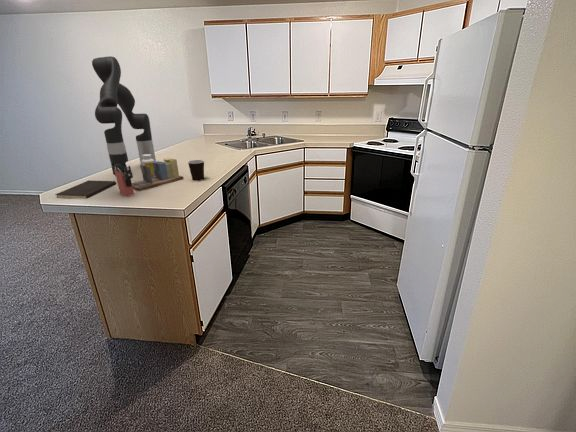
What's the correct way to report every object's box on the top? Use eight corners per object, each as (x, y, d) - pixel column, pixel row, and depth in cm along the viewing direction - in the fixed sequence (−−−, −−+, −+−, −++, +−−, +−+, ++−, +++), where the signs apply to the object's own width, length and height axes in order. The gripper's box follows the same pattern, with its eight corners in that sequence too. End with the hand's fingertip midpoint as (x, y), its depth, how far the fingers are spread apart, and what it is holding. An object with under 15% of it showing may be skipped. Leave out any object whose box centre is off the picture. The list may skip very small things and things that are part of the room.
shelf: (127, 186, 162) (123, 166, 158) (170, 175, 181) (167, 157, 177) (139, 191, 156) (135, 170, 151) (183, 179, 175) (180, 160, 170)
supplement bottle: (159, 176, 181) (155, 154, 176) (149, 178, 176) (145, 156, 171) (152, 174, 184) (148, 153, 179) (142, 177, 179) (137, 155, 174)
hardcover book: (56, 198, 148) (55, 194, 147) (89, 184, 169) (88, 180, 168) (87, 199, 146) (86, 195, 146) (116, 185, 167) (115, 181, 167)
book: (120, 194, 152) (114, 170, 147) (128, 191, 155) (122, 168, 150) (126, 196, 149) (120, 172, 144) (134, 194, 152) (129, 170, 147)
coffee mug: (201, 181, 170) (199, 163, 166) (187, 180, 172) (185, 163, 168) (210, 175, 181) (208, 159, 177) (197, 175, 182) (195, 158, 178)
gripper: (102, 151, 145) (110, 184, 151) (116, 155, 137) (124, 189, 143) (118, 149, 150) (125, 181, 157) (133, 152, 142) (140, 185, 149)
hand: (124, 185), depth 150 cm, fingers open, 8 cm apart
